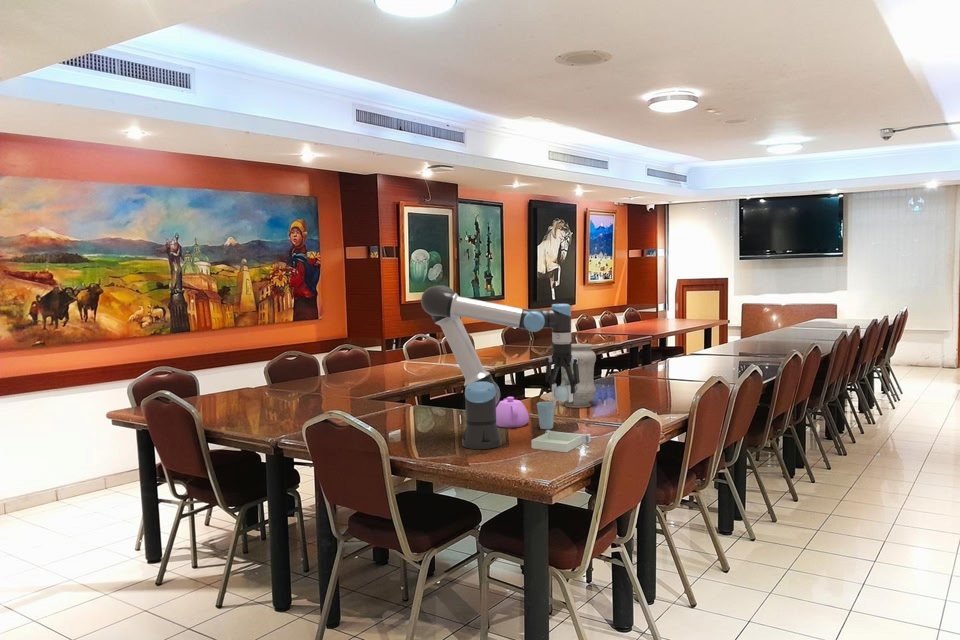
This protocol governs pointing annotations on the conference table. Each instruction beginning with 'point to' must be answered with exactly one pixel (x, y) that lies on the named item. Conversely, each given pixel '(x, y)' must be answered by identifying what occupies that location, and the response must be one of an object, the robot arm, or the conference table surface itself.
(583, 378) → the vase
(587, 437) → the white bar handle
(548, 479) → the conference table surface
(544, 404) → the cup
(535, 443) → the tray
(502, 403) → the teapot
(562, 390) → the ball
